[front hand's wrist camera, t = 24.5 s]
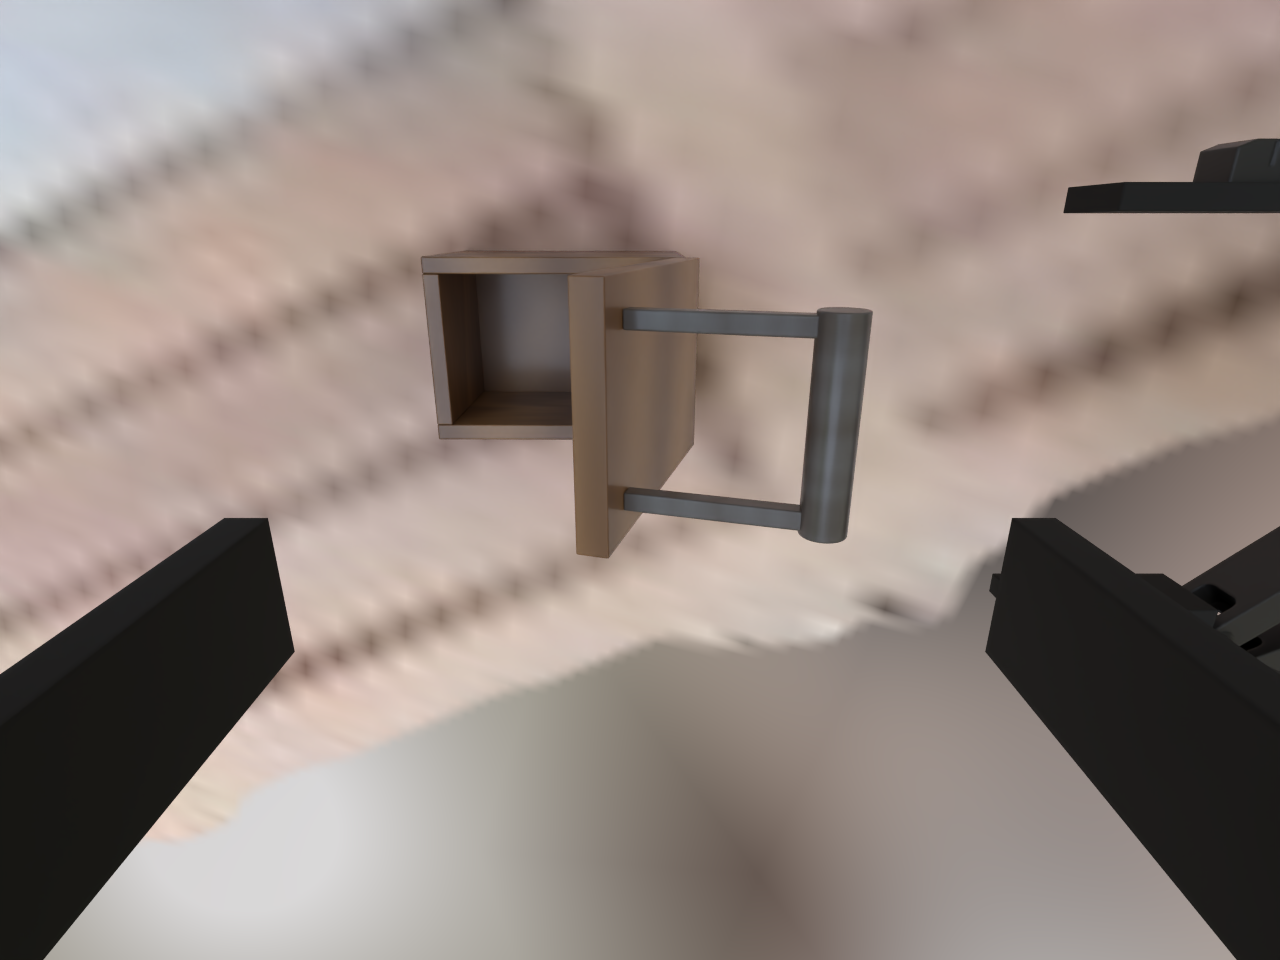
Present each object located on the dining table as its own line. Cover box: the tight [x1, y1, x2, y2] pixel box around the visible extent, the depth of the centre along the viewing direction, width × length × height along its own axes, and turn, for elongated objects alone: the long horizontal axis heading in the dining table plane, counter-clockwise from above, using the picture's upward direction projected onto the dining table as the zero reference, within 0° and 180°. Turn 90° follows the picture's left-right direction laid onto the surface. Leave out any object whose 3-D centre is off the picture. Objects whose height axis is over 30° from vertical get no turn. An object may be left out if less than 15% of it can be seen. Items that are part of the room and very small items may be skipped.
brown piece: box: [568, 258, 873, 558], centre depth 27 cm, size 14×9×9 cm
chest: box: [421, 251, 686, 439], centre depth 40 cm, size 13×9×9 cm
